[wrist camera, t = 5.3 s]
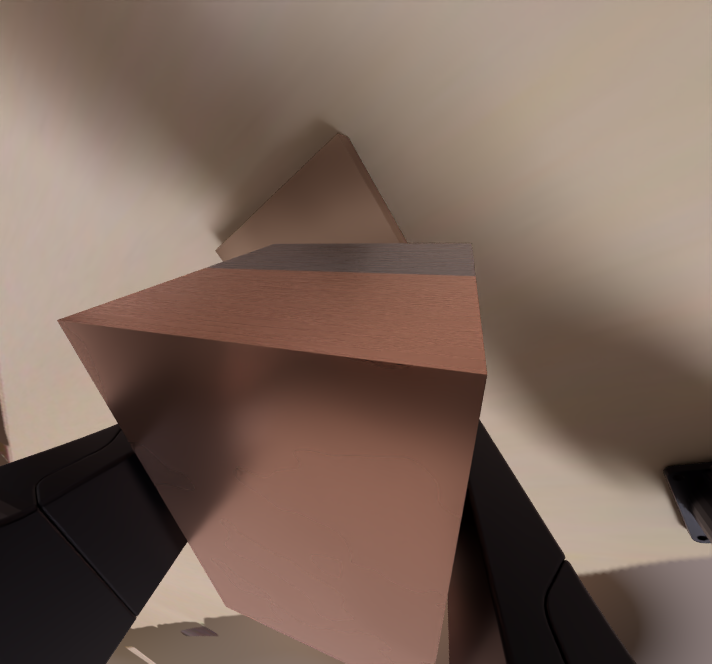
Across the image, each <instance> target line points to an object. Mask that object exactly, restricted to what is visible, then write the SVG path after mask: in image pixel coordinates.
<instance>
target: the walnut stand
mask: <svg viewBox="0 0 712 664" xmlns="http://www.w3.org/2000/svg"><path fill="white" fill-rule="evenodd" d="M343 243H407V241H406V240H405V238H404V236H403V234H402V232H401V231H400V229H399V227H398V225H397V223H396V222H395V220H394V218H393V216H392V215H391V213H390V211H389V209H388V207H387V206H386V204H385V202H384V200H383V198H382V197H381V195H380V193H379V191H378V189H377V188H376V186H375V184H374V182H373V181H372V179H371V177H370V175H369V173H368V172H367V170H366V168H365V166H364V164H363V163H362V161H361V159H360V157H359V156H358V154H357V152H356V150H355V148H354V147H353V145H352V143H351V141H350V139H349V138H348V137H347V136H344V135H341V134H338V133H337V134H336V135H335V136H334V137H333V138H332V139H331V140H330V141H329V142H328V143H327V144H326V145H325V146H324V147H323V148H322V149H321V150H320V151H319V152H318V153H316V154H315V155H314V156H313V157H312V158H311V159H310V160H309V161H308V162H307V163H306V164H305V165H304V166H303V167H302V168H301V169H300V170H299V171H298V172H297V173H296V174H295V175H294V176H292V177H291V178H290V179H289V180H288V181H287V182H286V183H285V184H284V185H283V186H282V187H281V188H280V189H279V190H278V191H277V192H276V193H275V194H274V195H273V196H272V197H271V198H270V199H269V200H267V201H266V202H265V203H264V204H263V205H262V206H261V207H260V208H259V209H258V210H257V211H256V212H255V213H254V214H253V215H252V216H251V217H250V218H249V219H248V220H247V221H246V222H245V223H243V224H242V225H241V226H240V227H239V228H238V229H237V230H236V231H235V232H234V233H233V234H232V235H231V236H230V237H229V238H228V239H227V240H226V241H225V242H224V243H223V244H222V245H221V246H220V247H218V248H217V249H216V250H215V251H216V252H217V254H218V255H219V256H220V258H221V259H222V260H223V262H224V261H227V260H230V259H233V258H235V257H238V256H241V255H244V254H247V253H250V252H252V251H255V250H258V249H261V248H264V247H267V246H269V245H272V244H343Z"/></svg>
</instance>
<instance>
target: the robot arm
mask: <svg viewBox="0 0 712 664" xmlns="http://www.w3.org/2000/svg"><path fill="white" fill-rule="evenodd" d="M664 475H665V478H666V480H667V482H668V485H669V487H670V490H671V492H672V495H673V497H674V499H675V502H676V504H677V507H678V509H679V511H680V514H681V516H682V519H683V521H684V524H685V526H686V528H687V531H688V533H689V534H690V536H691V538H692V539H693V540H694V541H696V542H699V543H712V462H707V463H697V464H688V465H678V466H671V467H667V468H665V469H664ZM187 542H188V541H187V539H186V538H185V536H184V534H183V533H182V531H181V529H180V528H179V526H178V524H177V523H176V521H175V519H174V517H173V516H172V514H171V512H170V511H169V509H168V507H167V506H166V504H165V502H164V500H163V499H162V497H161V495H160V494H159V492H158V490H157V489H156V487H155V485H154V484H153V482H152V480H151V478H150V477H149V475H148V473H147V472H146V470H145V468H144V467H143V465H142V463H141V461H140V460H139V458H138V456H137V455H136V453H135V451H134V450H133V448H132V446H131V444H130V443H129V441H128V439H127V438H126V436H125V434H124V433H123V431H122V429H121V428H120V426H119V424H116V425H114V426H111V427H109V428H106V429H103V430H101V431H98V432H96V433H93V434H90V435H88V436H85V437H83V438H80V439H77V440H74V441H71V442H68V443H66V444H63V445H60V446H57V447H54V448H52V449H49V450H46V451H43V452H40V453H37V454H34V455H31V456H28V457H26V458H23V459H20V460H17V461H14V462H11V463H8V464H6V465H2V466H0V664H106V663H107V661H108V660H109V658H110V657H111V655H112V654H113V653H114V651H115V650H116V648H117V647H118V645H119V644H120V642H121V641H122V639H123V638H124V636H125V635H126V633H127V632H128V630H129V629H130V627H131V626H132V624H133V623H134V621H135V620H136V616H138V615H139V613H140V612H141V610H142V609H143V607H144V606H145V604H146V603H147V601H148V600H149V598H150V597H151V595H152V594H153V592H154V591H155V589H156V588H157V586H158V585H159V583H160V582H161V581H162V579H163V578H164V576H165V575H166V573H167V572H168V570H169V569H170V567H171V566H172V564H173V563H174V561H175V560H176V558H177V557H178V555H179V554H180V552H181V551H182V549H183V548H184V546H185V545H186V543H187ZM564 559H565V555H564V553H563V552H562V550H561V548H560V547H559V545H558V544H557V542H556V541H555V539H554V537H553V536H552V534H551V533H550V531H549V529H548V528H547V526H546V525H545V523H544V521H543V520H542V518H541V517H540V515H539V513H538V512H537V510H536V509H535V507H534V505H533V504H532V502H531V501H530V499H529V498H528V496H527V494H526V493H525V491H524V490H523V488H522V486H521V485H520V483H519V482H518V480H517V478H516V477H515V475H514V474H513V472H512V470H511V469H510V467H509V466H508V464H507V462H506V461H505V459H504V458H503V456H502V454H501V453H500V451H499V450H498V448H497V447H496V445H495V443H494V442H493V440H492V439H491V437H490V435H489V434H488V432H487V431H486V429H485V427H484V426H483V424H482V423H481V421H480V419H479V423H478V429H477V434H476V440H475V445H474V451H473V456H472V462H471V468H470V473H469V479H468V484H467V490H466V495H465V501H464V506H463V512H462V518H461V523H460V529H459V534H458V540H457V545H456V551H455V557H454V562H453V568H452V573H451V579H450V584H449V590H448V630H449V664H636V662H635V661H634V659H633V658H632V656H631V655H630V654H629V652H628V651H627V650H626V648H625V646H624V645H623V644H622V642H621V641H620V639H619V638H618V637H617V635H616V634H615V632H614V631H613V629H612V628H611V626H610V625H609V623H608V622H607V620H606V619H605V617H604V616H603V614H602V613H601V611H600V610H599V608H598V606H597V605H596V603H595V602H594V600H593V599H592V597H591V596H590V594H589V593H588V591H587V590H586V588H585V587H584V585H583V583H582V582H581V580H580V579H579V577H578V575H577V574H576V572H575V571H574V569H573V567H572V566H571V564H570V563H569V561H567V560H564Z"/></svg>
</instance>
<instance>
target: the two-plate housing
mask: <svg viewBox="0 0 712 664" xmlns="http://www.w3.org/2000/svg"><path fill="white" fill-rule="evenodd" d="M57 321H58V322H59V324H60V326H61V327H62V329H63V331H64V333H65V334H66V336H67V338H68V339H69V341H70V343H71V344H72V346H73V348H74V350H75V351H76V353H77V355H78V356H79V358H80V360H81V361H82V363H83V365H84V366H85V368H86V370H87V372H88V373H89V375H90V377H91V378H92V380H93V382H94V383H95V385H96V387H97V389H98V390H99V392H100V394H101V395H102V397H103V399H104V400H105V402H106V404H107V405H108V407H109V409H110V411H111V412H112V414H113V416H114V417H115V419H116V421H117V422H118V424H119V426H120V428H121V429H122V431H123V433H124V434H125V436H126V438H127V439H128V441H129V443H130V444H131V446H132V448H133V450H134V451H135V453H136V455H137V456H138V458H139V460H140V461H141V463H142V465H143V467H144V468H145V470H146V472H147V473H148V475H149V477H150V478H151V480H152V482H153V484H154V485H155V487H156V489H157V490H158V492H159V494H160V495H161V497H162V499H163V500H164V502H165V504H166V506H167V507H168V509H169V511H170V512H171V514H172V516H173V517H174V519H175V521H176V523H177V524H178V526H179V528H180V529H181V531H182V533H183V534H184V536H185V538H186V539H187V541H188V543H189V545H190V546H191V548H192V550H193V551H194V553H195V555H196V556H197V558H198V560H199V562H200V563H201V565H202V567H203V568H204V570H205V572H206V573H207V575H208V577H209V578H210V580H211V582H212V584H213V585H214V587H215V589H216V590H217V592H218V594H219V595H220V597H221V599H222V601H223V602H224V604H225V606H226V607H228V608H230V609H232V610H234V611H237V612H239V613H241V614H243V615H245V616H247V617H249V618H251V619H253V620H255V621H258V622H260V623H262V624H264V625H266V626H268V627H270V628H272V629H274V630H277V631H279V632H281V633H283V634H285V635H287V636H289V637H291V638H293V639H296V640H298V641H300V642H302V643H304V644H306V645H308V646H310V647H312V648H314V649H317V650H319V651H321V652H323V653H325V654H327V655H329V656H331V657H333V658H335V659H338V660H340V661H342V662H344V663H346V664H435V662H436V657H437V651H438V646H439V640H440V634H441V629H442V623H443V618H444V612H445V607H446V601H447V595H448V590H449V584H450V579H451V573H452V568H453V562H454V557H455V551H456V545H457V540H458V534H459V529H460V523H461V518H462V512H463V506H464V501H465V495H466V490H467V484H468V479H469V473H470V468H471V462H472V456H473V451H474V445H475V440H476V434H477V429H478V423H479V417H480V412H481V406H482V401H483V395H484V390H485V384H486V379H487V369H486V360H485V352H484V343H483V335H482V326H481V318H480V309H479V301H478V293H477V284H476V276H475V267H474V259H473V250H472V243H343V244H272V245H269V246H267V247H264V248H261V249H258V250H255V251H252V252H250V253H247V254H244V255H241V256H238V257H235V258H233V259H230V260H227V261H224V262H221V263H218V264H215V265H213V266H210V267H207V268H204V269H201V270H198V271H196V272H193V273H190V274H187V275H184V276H181V277H179V278H176V279H173V280H170V281H167V282H164V283H162V284H159V285H156V286H153V287H150V288H147V289H144V290H142V291H139V292H136V293H133V294H130V295H127V296H125V297H122V298H119V299H116V300H113V301H110V302H108V303H105V304H102V305H99V306H96V307H93V308H90V309H88V310H85V311H82V312H79V313H76V314H73V315H71V316H68V317H65V318H62V319H59V320H57Z"/></svg>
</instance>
